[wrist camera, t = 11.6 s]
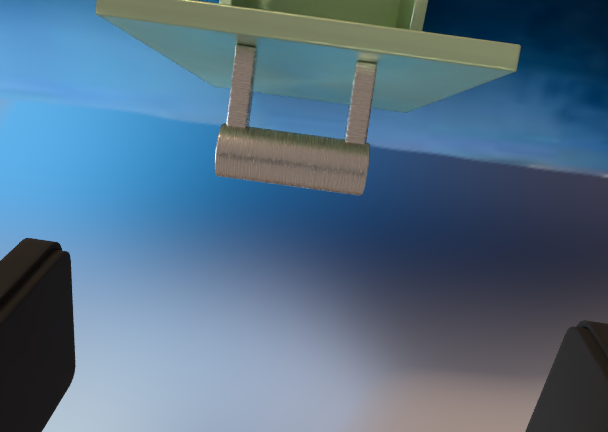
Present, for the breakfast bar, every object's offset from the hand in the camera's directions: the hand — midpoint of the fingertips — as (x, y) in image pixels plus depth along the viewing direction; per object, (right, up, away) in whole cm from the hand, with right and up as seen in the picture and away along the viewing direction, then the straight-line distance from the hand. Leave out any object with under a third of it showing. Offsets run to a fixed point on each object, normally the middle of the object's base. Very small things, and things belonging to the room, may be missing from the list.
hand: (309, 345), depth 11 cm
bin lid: (0, +10, +16) cm, 19 cm away
